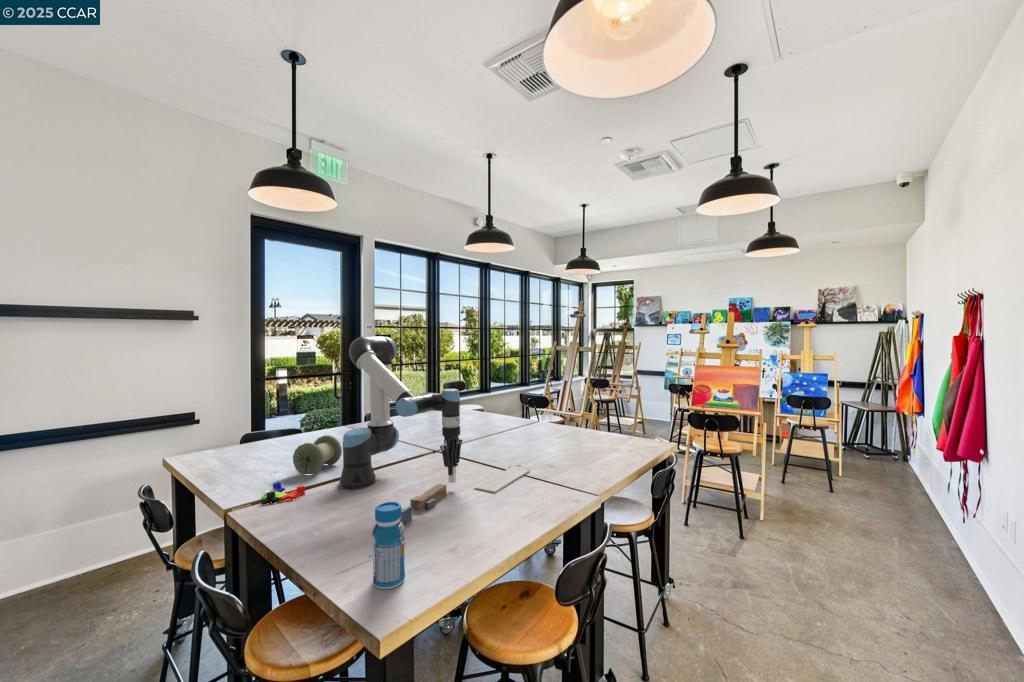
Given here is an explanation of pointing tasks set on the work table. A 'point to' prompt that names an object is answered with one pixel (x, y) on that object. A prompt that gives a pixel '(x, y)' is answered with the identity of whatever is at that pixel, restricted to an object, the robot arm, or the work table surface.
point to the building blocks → (281, 494)
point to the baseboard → (502, 480)
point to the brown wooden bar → (429, 496)
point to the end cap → (406, 514)
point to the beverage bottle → (388, 546)
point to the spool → (317, 454)
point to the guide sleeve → (428, 504)
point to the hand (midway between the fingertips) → (452, 481)
